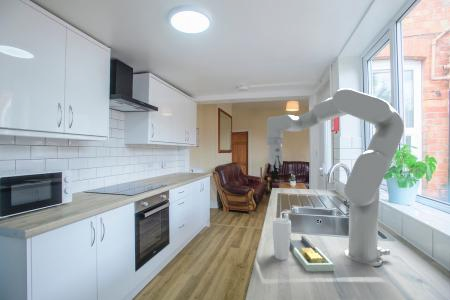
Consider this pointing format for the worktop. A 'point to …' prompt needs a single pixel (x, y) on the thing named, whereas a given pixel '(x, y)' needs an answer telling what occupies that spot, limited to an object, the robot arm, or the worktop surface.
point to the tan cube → (313, 258)
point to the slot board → (301, 244)
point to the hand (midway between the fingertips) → (274, 178)
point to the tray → (324, 266)
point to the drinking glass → (281, 237)
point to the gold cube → (306, 251)
